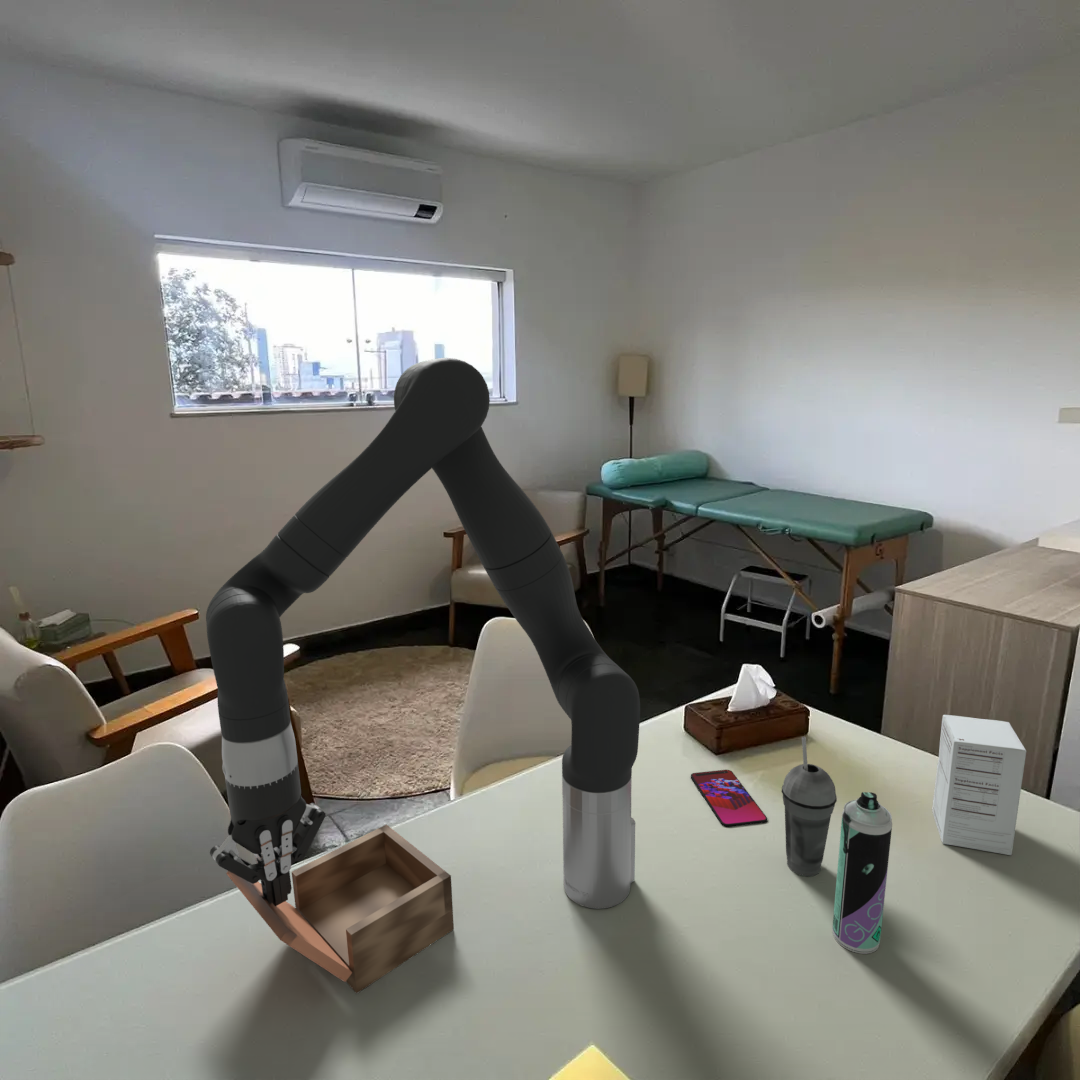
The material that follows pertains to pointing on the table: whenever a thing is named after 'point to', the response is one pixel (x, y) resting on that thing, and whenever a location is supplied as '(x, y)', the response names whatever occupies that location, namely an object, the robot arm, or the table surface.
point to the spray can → (862, 874)
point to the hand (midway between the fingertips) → (278, 899)
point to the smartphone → (728, 798)
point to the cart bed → (375, 903)
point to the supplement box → (978, 783)
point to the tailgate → (292, 928)
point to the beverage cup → (807, 815)
